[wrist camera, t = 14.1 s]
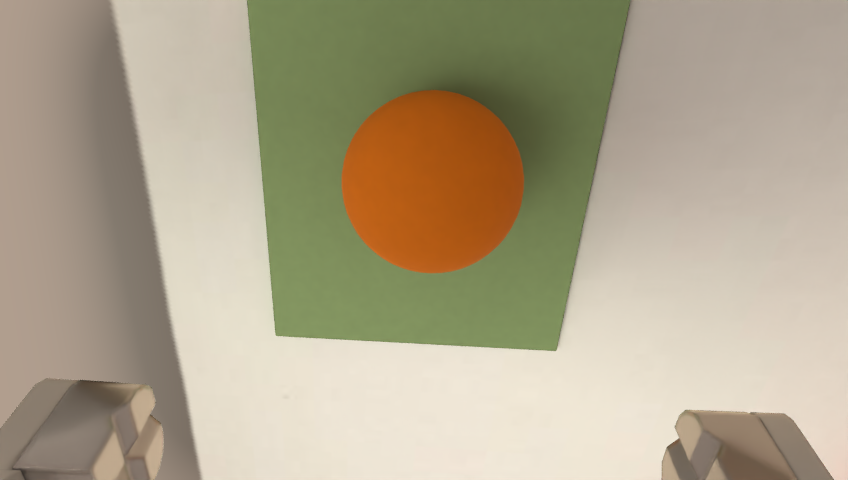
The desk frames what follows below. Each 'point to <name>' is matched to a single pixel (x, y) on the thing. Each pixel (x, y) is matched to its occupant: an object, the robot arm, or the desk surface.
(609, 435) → the desk surface
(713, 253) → the desk surface
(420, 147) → the orange
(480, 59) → the felt mat
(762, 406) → the desk surface
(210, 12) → the desk surface
